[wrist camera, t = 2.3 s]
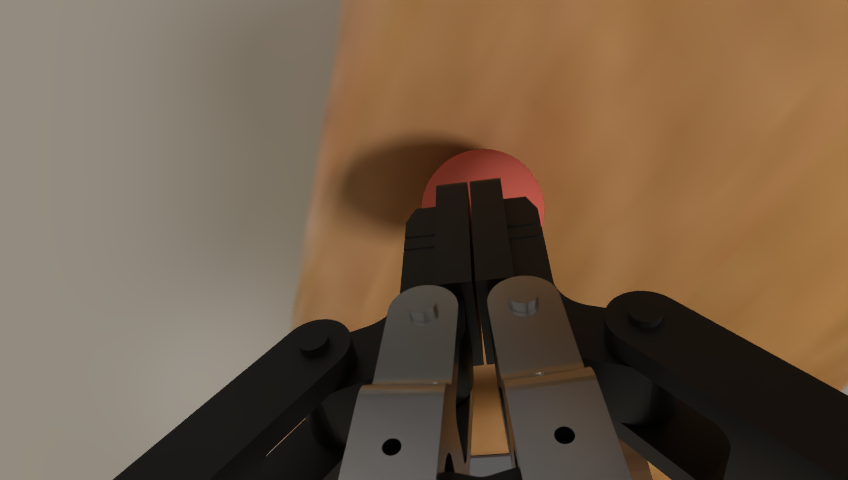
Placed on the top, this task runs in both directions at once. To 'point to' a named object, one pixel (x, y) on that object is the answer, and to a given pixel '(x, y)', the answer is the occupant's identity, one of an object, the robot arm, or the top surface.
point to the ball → (487, 176)
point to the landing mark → (489, 464)
